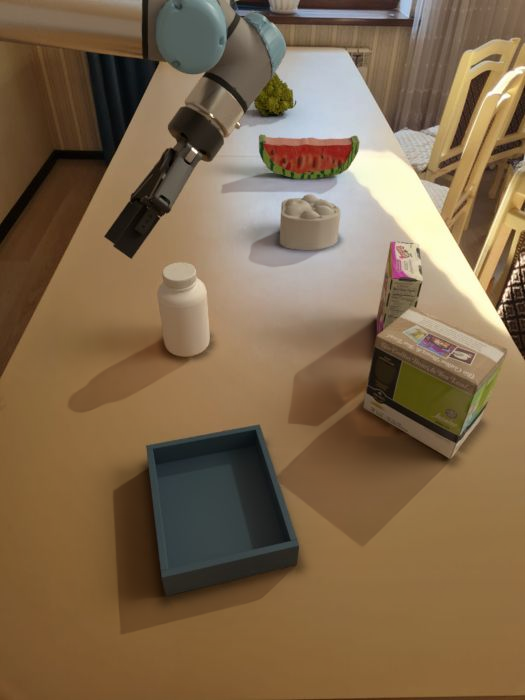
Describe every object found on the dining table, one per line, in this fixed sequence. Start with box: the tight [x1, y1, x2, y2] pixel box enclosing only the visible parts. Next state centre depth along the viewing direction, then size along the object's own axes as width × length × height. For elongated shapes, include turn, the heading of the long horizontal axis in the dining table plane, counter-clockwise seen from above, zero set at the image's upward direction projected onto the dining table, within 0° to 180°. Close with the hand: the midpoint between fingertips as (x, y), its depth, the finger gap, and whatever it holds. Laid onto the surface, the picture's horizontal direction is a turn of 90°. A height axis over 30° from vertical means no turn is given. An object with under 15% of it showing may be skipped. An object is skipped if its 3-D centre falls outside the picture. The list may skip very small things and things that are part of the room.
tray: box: [145, 423, 300, 597], centre depth 68 cm, size 19×16×4 cm
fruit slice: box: [258, 133, 360, 180], centre depth 145 cm, size 26×6×10 cm, turn 91°
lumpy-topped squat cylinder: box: [279, 193, 342, 251], centre depth 119 cm, size 10×13×9 cm
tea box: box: [363, 306, 509, 460], centre depth 78 cm, size 15×10×15 cm, turn 48°
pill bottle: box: [156, 261, 211, 358], centre depth 89 cm, size 8×8×15 cm
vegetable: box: [253, 70, 297, 117], centre depth 184 cm, size 15×16×15 cm
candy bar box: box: [376, 241, 424, 336], centre depth 91 cm, size 11×5×16 cm, turn 171°
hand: (116, 247), depth 76 cm, fingers open, 13 cm apart
